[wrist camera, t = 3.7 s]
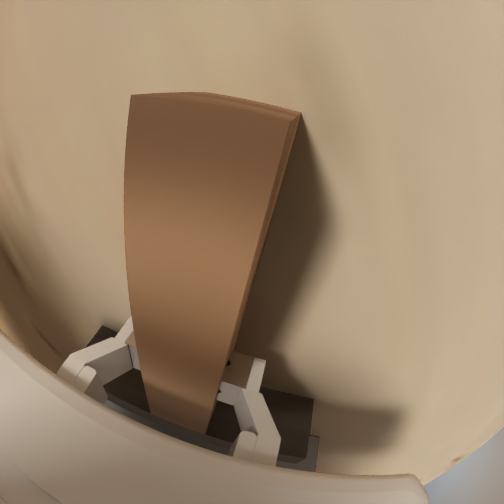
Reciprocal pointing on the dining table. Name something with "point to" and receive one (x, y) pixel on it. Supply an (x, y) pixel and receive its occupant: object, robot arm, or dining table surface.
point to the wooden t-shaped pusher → (199, 257)
